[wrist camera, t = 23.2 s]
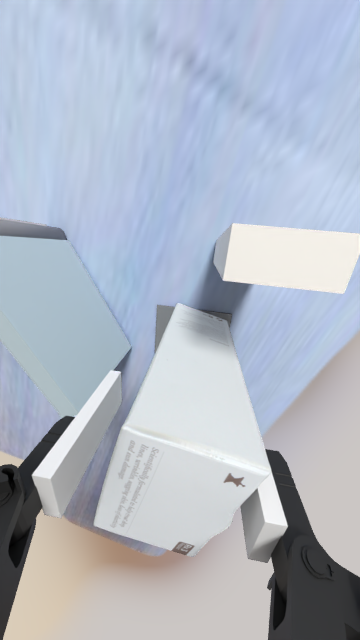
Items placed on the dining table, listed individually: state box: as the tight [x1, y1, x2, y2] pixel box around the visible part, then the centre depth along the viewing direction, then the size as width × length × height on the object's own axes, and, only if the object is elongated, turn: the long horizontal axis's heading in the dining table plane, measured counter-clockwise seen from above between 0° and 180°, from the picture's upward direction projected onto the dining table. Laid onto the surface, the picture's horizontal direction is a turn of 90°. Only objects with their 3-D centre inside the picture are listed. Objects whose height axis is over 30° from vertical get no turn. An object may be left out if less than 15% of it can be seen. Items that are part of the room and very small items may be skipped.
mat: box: [155, 305, 232, 353], centre depth 22 cm, size 8×8×1 cm
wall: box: [0, 217, 360, 294], centre depth 13 cm, size 25×2×12 cm, turn 85°
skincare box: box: [94, 303, 271, 557], centre depth 15 cm, size 8×6×15 cm
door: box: [0, 219, 131, 418], centre depth 16 cm, size 15×3×11 cm, turn 25°
